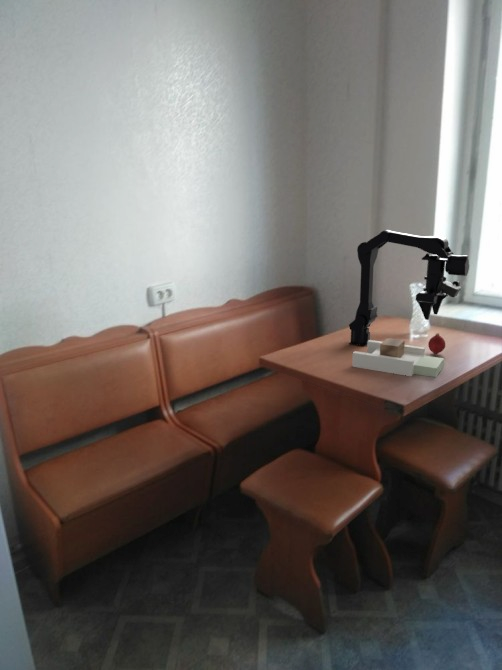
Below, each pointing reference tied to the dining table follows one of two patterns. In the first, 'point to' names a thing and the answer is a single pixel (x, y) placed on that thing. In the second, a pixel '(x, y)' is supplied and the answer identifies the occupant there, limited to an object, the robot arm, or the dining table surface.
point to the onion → (436, 344)
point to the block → (392, 347)
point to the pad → (428, 366)
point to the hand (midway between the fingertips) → (431, 316)
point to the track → (388, 359)
